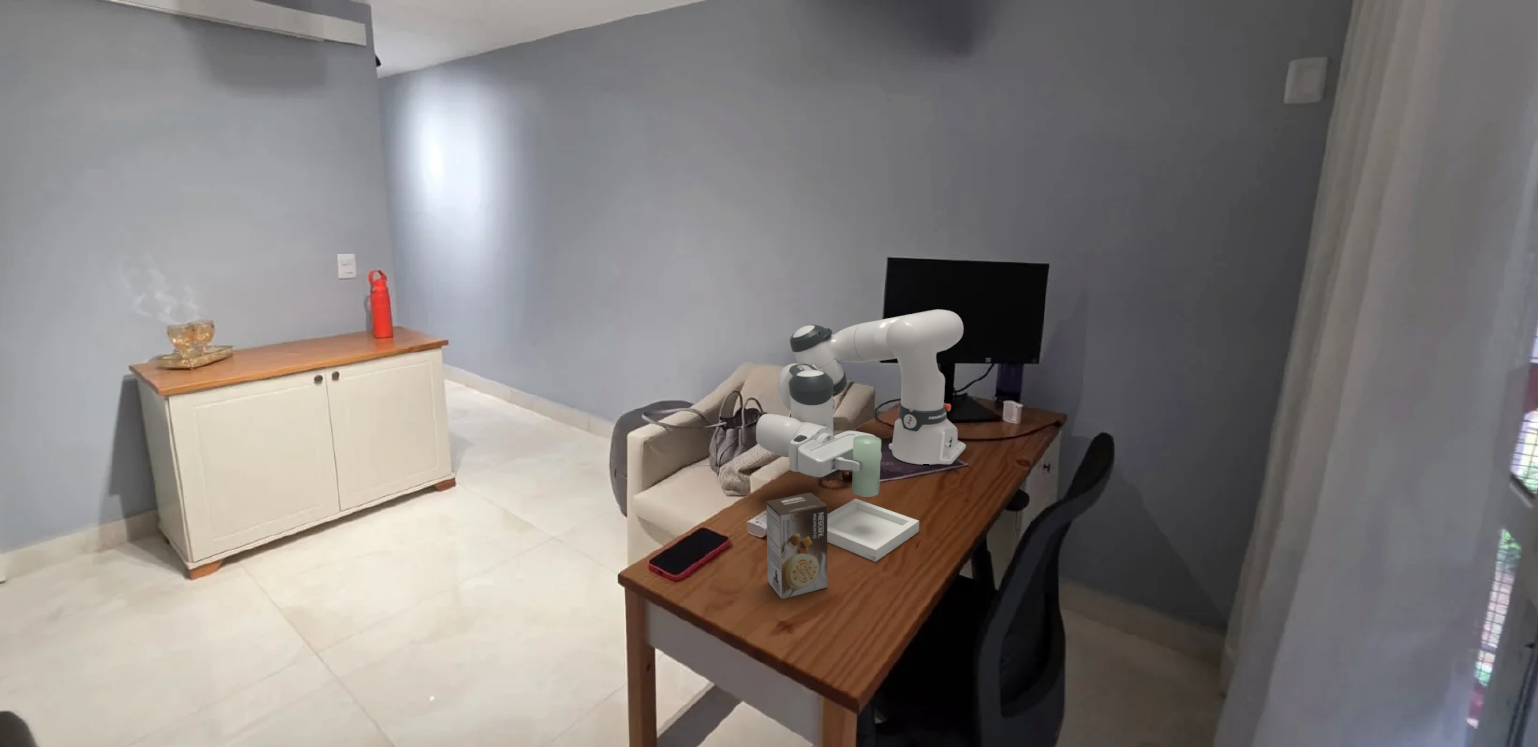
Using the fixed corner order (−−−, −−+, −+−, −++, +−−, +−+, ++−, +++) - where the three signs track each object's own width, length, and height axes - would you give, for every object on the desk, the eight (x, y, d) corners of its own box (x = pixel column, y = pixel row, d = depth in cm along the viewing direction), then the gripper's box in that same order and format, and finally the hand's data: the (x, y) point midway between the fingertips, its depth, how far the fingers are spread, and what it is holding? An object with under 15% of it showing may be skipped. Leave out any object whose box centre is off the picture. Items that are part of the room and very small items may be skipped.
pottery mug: (865, 490, 159) (850, 465, 156) (829, 504, 162) (814, 480, 158) (860, 460, 170) (847, 436, 166) (827, 473, 172) (813, 450, 169)
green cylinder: (861, 483, 139) (863, 433, 136) (884, 490, 135) (886, 439, 133) (846, 491, 135) (847, 440, 132) (869, 499, 131) (871, 446, 129)
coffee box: (811, 570, 124) (812, 491, 120) (828, 588, 118) (829, 505, 114) (766, 581, 120) (765, 500, 116) (781, 600, 114) (780, 515, 110)
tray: (855, 508, 148) (855, 498, 148) (918, 531, 138) (919, 520, 137) (810, 534, 137) (810, 523, 136) (875, 561, 127) (875, 550, 126)
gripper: (844, 446, 150) (897, 462, 141) (784, 473, 136) (839, 492, 127) (845, 420, 149) (898, 434, 140) (784, 443, 134) (840, 461, 125)
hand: (870, 462), depth 133 cm, fingers closed on green cylinder, 5 cm apart
